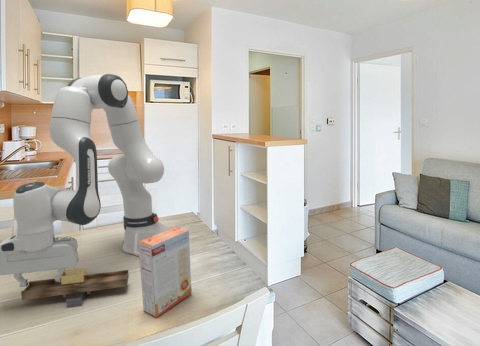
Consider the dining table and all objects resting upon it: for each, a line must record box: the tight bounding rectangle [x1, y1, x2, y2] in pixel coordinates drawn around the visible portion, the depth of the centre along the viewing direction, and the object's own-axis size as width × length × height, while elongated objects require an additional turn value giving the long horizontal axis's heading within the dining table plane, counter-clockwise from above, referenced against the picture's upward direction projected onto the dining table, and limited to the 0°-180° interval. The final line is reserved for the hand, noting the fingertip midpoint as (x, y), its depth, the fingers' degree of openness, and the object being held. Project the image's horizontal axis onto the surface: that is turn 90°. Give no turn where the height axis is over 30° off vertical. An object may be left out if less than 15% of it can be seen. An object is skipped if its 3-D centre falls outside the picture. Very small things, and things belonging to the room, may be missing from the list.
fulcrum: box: [65, 292, 87, 308], centre depth 92 cm, size 4×12×2 cm, turn 15°
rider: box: [61, 267, 88, 286], centre depth 91 cm, size 6×4×4 cm, turn 105°
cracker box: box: [138, 226, 192, 319], centre depth 87 cm, size 14×6×21 cm, turn 145°
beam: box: [20, 269, 130, 301], centre depth 92 cm, size 28×6×4 cm, turn 105°
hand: (41, 283), depth 89 cm, fingers open, 8 cm apart
